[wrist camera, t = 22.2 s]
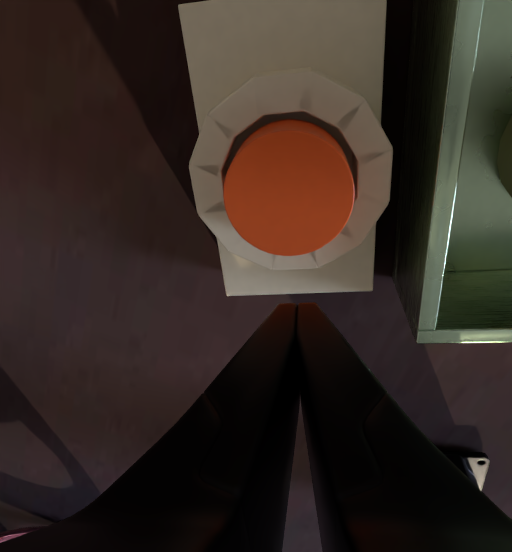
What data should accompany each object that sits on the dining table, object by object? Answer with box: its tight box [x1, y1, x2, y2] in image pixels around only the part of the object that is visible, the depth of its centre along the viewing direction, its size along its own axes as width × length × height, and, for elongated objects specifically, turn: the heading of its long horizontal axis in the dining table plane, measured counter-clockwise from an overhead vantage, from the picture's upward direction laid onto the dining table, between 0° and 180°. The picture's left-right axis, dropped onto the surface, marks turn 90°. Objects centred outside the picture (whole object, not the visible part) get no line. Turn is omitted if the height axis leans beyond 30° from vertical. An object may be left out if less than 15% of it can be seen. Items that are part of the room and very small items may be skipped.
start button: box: [223, 119, 355, 256], centre depth 14 cm, size 4×4×2 cm
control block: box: [178, 0, 393, 296], centre depth 17 cm, size 12×7×4 cm, turn 6°
